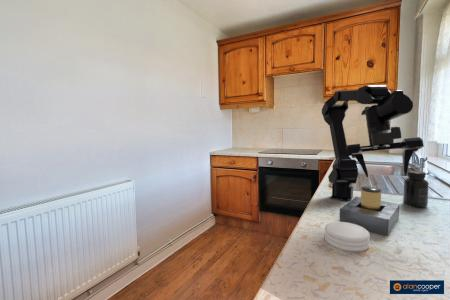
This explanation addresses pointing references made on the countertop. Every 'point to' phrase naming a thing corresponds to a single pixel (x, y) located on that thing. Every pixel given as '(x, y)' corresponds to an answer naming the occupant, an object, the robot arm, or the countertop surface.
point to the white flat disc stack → (347, 236)
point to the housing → (371, 216)
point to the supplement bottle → (415, 190)
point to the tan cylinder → (371, 198)
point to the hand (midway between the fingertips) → (385, 176)
